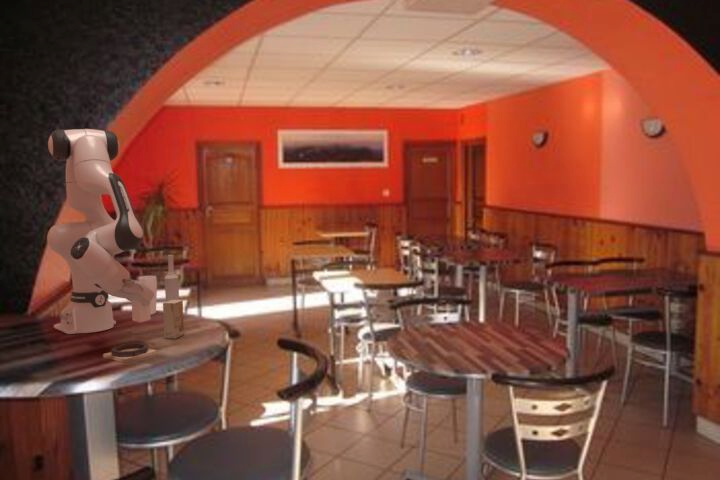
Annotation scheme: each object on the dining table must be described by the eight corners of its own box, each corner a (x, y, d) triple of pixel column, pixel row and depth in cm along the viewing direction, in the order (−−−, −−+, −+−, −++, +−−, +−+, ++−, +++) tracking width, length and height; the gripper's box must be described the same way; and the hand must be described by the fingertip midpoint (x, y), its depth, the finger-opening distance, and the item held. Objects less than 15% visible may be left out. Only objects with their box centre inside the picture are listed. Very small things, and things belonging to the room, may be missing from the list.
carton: (132, 320, 195) (131, 293, 194) (142, 318, 198) (141, 291, 197) (140, 322, 193) (139, 294, 192) (150, 319, 196) (149, 292, 195)
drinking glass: (137, 315, 237) (135, 278, 235) (145, 311, 244) (144, 275, 242) (152, 315, 236) (151, 278, 234) (161, 312, 242) (159, 275, 241)
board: (103, 357, 180) (102, 349, 180) (134, 348, 190) (134, 340, 189) (125, 362, 174) (125, 354, 174) (157, 353, 184) (156, 345, 183)
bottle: (163, 320, 228) (160, 255, 225) (175, 317, 232) (173, 254, 229) (170, 322, 224) (167, 256, 222) (183, 319, 228) (180, 255, 226)
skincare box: (175, 339, 200) (173, 303, 199) (163, 338, 201) (161, 303, 200) (184, 334, 207) (183, 299, 205) (173, 333, 207) (171, 299, 206)
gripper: (141, 273, 182) (168, 299, 191) (101, 267, 193) (129, 292, 202) (129, 290, 179) (157, 315, 188) (89, 283, 190) (117, 307, 199)
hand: (142, 303), depth 195 cm, fingers closed on carton, 4 cm apart
